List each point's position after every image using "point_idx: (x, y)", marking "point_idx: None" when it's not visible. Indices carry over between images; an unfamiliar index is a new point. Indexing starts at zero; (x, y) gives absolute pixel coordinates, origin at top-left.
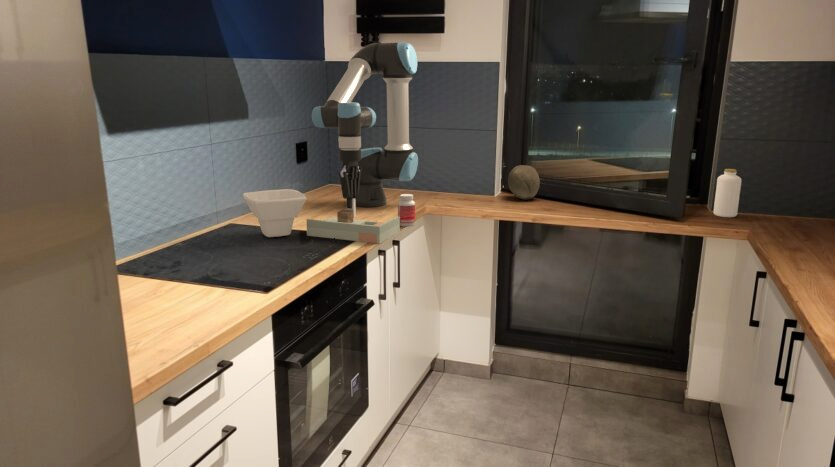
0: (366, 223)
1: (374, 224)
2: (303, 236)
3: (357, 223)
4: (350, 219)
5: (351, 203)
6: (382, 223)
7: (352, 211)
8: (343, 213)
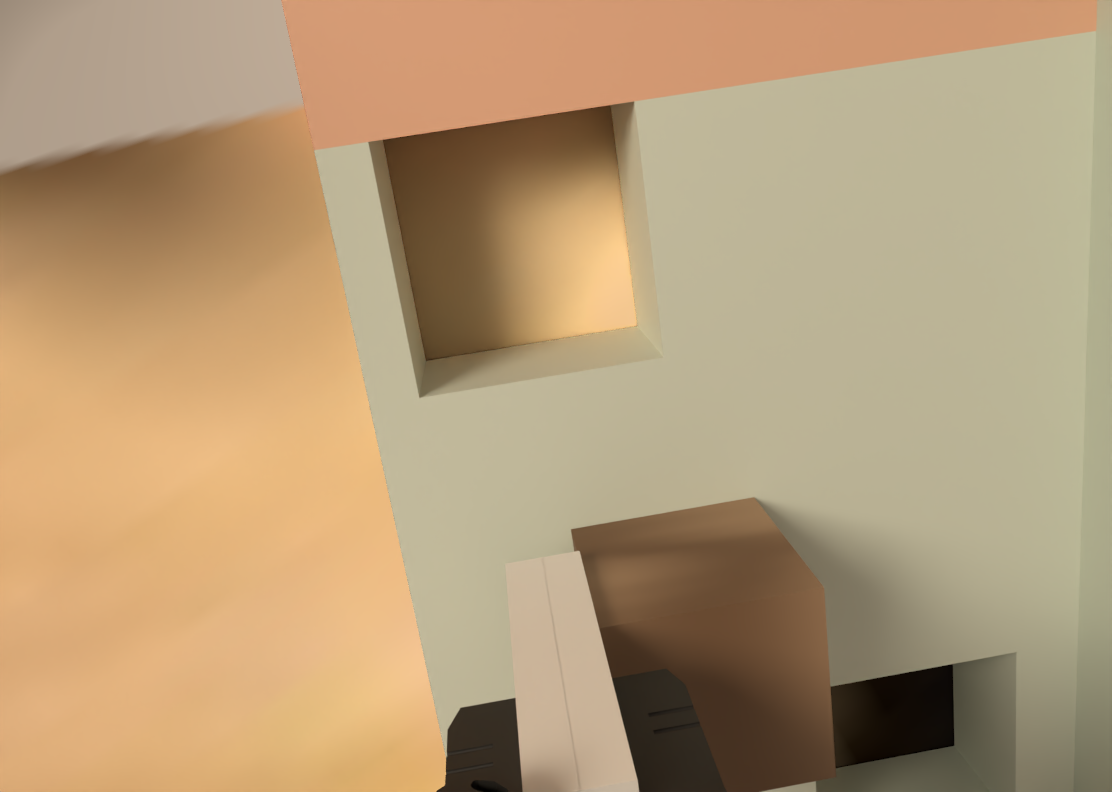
0: (416, 371)
1: (387, 221)
2: None
3: (622, 414)
4: (680, 538)
5: (648, 739)
6: (387, 28)
7: (618, 619)
8: (820, 657)
